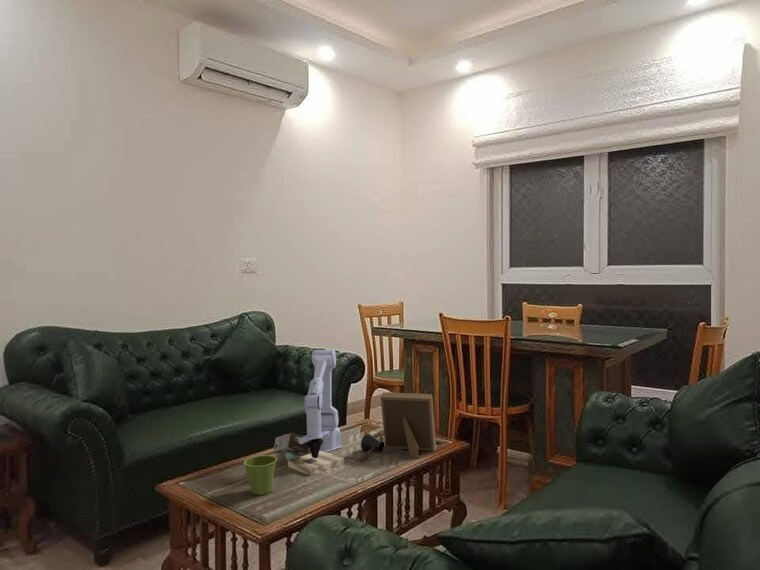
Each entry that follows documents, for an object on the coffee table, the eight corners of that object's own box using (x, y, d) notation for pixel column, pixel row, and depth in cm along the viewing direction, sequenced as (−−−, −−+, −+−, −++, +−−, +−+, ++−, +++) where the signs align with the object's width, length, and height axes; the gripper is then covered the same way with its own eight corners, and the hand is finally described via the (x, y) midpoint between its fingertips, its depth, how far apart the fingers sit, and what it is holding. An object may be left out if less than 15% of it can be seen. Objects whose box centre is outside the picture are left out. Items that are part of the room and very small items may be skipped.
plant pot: (263, 482, 208) (263, 452, 208) (285, 490, 201) (284, 459, 200) (237, 493, 199) (236, 461, 199) (258, 501, 192) (257, 468, 191)
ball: (303, 463, 223) (308, 468, 225) (309, 465, 221) (314, 469, 223) (307, 456, 225) (311, 460, 227) (313, 457, 223) (318, 461, 225)
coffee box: (294, 442, 240) (311, 437, 228) (291, 457, 237) (308, 453, 225) (275, 437, 236) (291, 432, 224) (272, 452, 233) (288, 448, 221)
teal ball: (292, 449, 228) (286, 455, 228) (288, 449, 225) (282, 455, 225) (296, 456, 226) (290, 461, 227) (292, 456, 223) (286, 462, 224)
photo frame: (387, 444, 250) (386, 389, 249) (435, 447, 244) (434, 391, 243) (378, 456, 236) (377, 397, 235) (429, 459, 230) (428, 399, 229)
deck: (320, 456, 237) (320, 450, 237) (344, 464, 226) (344, 458, 226) (287, 466, 225) (287, 460, 225) (310, 475, 214) (310, 469, 214)
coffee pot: (369, 446, 248) (385, 451, 244) (345, 463, 234) (362, 469, 229) (370, 430, 247) (386, 435, 242) (346, 446, 232) (362, 453, 227)
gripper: (305, 429, 217) (306, 464, 217) (334, 421, 227) (335, 455, 227) (294, 426, 222) (295, 460, 222) (323, 419, 232) (324, 451, 232)
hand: (314, 457), depth 225 cm, fingers closed
